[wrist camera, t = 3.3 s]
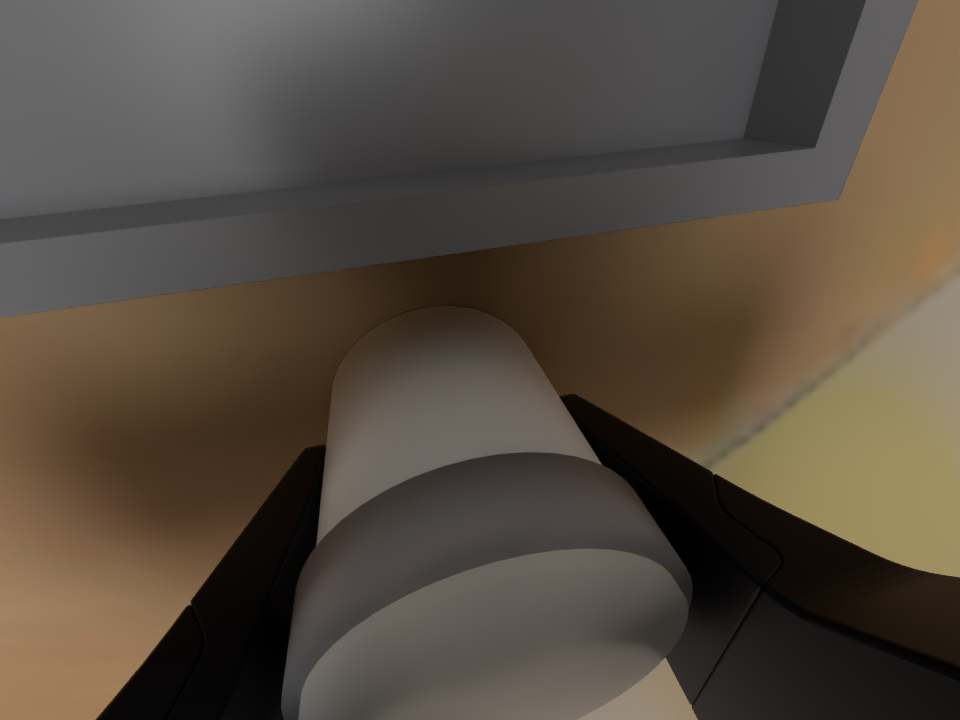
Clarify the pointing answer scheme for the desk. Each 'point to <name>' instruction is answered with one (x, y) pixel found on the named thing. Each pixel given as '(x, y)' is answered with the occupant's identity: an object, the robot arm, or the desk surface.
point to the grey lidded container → (471, 542)
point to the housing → (404, 129)
